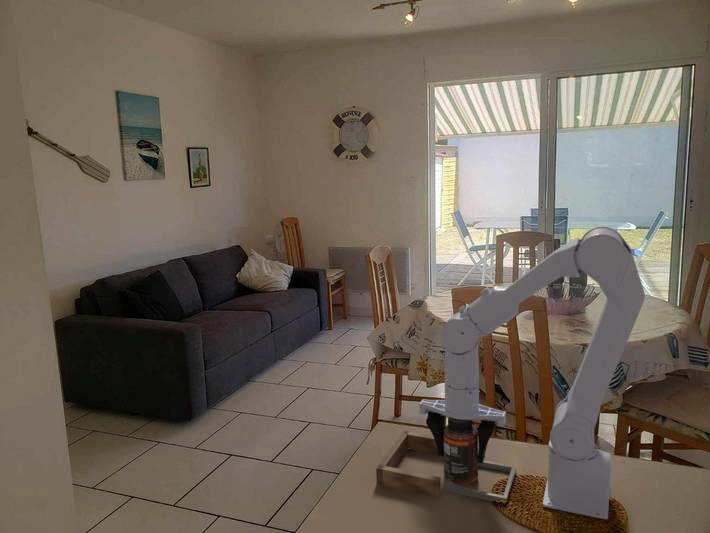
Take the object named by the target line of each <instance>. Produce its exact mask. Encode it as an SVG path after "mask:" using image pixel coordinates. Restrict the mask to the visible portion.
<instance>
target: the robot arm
mask: <svg viewBox="0 0 710 533" xmlns="http://www.w3.org/2000/svg"><path fill="white" fill-rule="evenodd" d="M579 240H580V242H579ZM582 272H584V273H585V274H586V275H587V276H588V277H589V278H591V279H592V280H593V281H594V282H595V283H597V284H598V287H599V288H600V289H601V291H602V292H603V294H604V295H605V297H606V300H605V302H604V305H603V308H602V311H601V313H600V316H599V318H598V320H597V323H596V325H595V329H594V331H593V334H592V335H591V338H590V341H589V344H588V346H587V349H586V351H585V354H584V356H583V358H582V360H581V364H580V367H579V369H578V372H577V374H576V375H575V376H576V377H575V378H574V382H573V384H572V386H571V387H570V388H569V392H567V395H566V397H565V398H563V399H562V400H561V401H560V402H558V404H557V405H556V407H555V410H554V419H553V423H552V429H551V430H550V432H549V433H550V434H549V441H548V463H547V464H548V466H547V467H548V469H547V479H546V483H545V489H544V495H543V499H542V506H543V507H545V508H549V509H553V510H557V511H558V510H559V511H563V512H567V513H573V514H578V515H582V516H586V517H592V518H597V519H601V520H608V519H609V505H610V504H609V502H610V500H612V487H610V486H611V485H610V483H611V462H612V460H611V458H612V457H611V456H612V453H610V452H606V451H603V450H601V449H599V448H598V445H597V444H596V443H595V427H596V425H597V421H598V418H599V415H600V410H601V406H602V403H603V401H604V399H605V396H606V394H607V390H608V389H609V386H610V384H611V381H612V379H613V376H614V374H615V371H616V369H617V367H618V366H619V365H618V364H619V362H620V360H621V357H622V355H623V353H624V351H625V348H626V346H627V343H628V340H629V339H630V335H631V333H632V331H633V329H634V326H635V324H636V321H637V320H638V316H639V314H640V312H641V309H642V307H643V304H644V302H645V298H646V294H645V290H644V287H643V284H642V280H641V276H640V274H639V271H638V268H637V264H636V261H635V258H634V254H633V251H632V249H631V247H630V244H628V242H627V241H626V240H625V238H624V237H623V236H622V235H621V233H619V231H617V230H616V229H614V228H611V227H609V226H596V227H593V228H590V229H589V230H588V231H586V232H585V233H584V235H583V236H582V238H581V239H580V236H578V237H576V238H574V239H572V240H570V241H568V242H566V243H565V244H564V245H562V246H560V247H558V248H557V249H555V250H554V251H553V252H551V253H550V254H549V255H547V256H546V257H545V258H544V259H542V260H541V261H540V262H539V263H537V264H536V265H535V266H533V267H532V268H531V269H529V270H528V271H527V272H525V273H524V274H523V275H521V276H520V277H519V278H517V279H516V280H515V281H514V282H512V283H511V284H510V285H508V286H503V285H502V286H500V285H494V286H493V287H491V288H490V287H488V286H487V287H486V288H484V289H482V290H481V291H480V296H479V297H477V299H475V300H474V301H472V302H471V303H470V304H468V305H462V306H461V307H459V308H458V312H456V313H455V314H453V315H452V316H451V317H450V318H449V319H448V320H447V321H446V322H445V323H444V325H443V326H442V328H441V330H440V342H441V343H442V345H443V346H444V365H443V366H444V399H421V401H420V402H419V403H418V404H419V406H418V407H419V414H420V415H426V414H427V418H426V419H425V423H426V426H427V428H428V429H429V430H430V433H431V434H432V436H433V437H434V439H435V442H436V445H437V448H438V452H439V454H438V455H439V456H441V457H444V446H443V431H444V428H445V427H446V426H447V418H449V417H451V418H454V419H460V420H472V421H475V422H480V423H479V425H478V427H477V428H476V430H477V433H478V463H483V461H485V457H486V456H485V455H486V451H487V446H488V444H489V440H490V438H491V437H492V435H493V433H494V431H495V429H496V426H498V427H500V428H505V425H506V422H507V420H506V419H507V417H506V416H507V411H505V410H500V409H496V408H492V407H489V406H486V405H482V404H480V400H479V399H480V397H479V396H480V359H479V342H478V341H479V340H480V338H483V337H487V336H489V335H490V334H491V333H493V332H494V331H496V330H497V329H499V328H501V327H502V326H503V325H505V324H506V323H509V321H511V320H512V319H513V318H515V317H517V316H518V314H519V308H520V304H521V303H522V302H524V301H526V300H527V299H529V298H530V297H532V296H533V295H535V294H536V293H538V292H539V291H541V290H542V289H544V288H546V287H547V286H549V285H551V284H552V283H553V282H555V281H557V280H558V279H560V278H563V277H564V278H580V277H581V275H582Z"/></svg>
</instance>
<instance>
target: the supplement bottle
mask: <svg viewBox="0 0 710 533" xmlns="http://www.w3.org/2000/svg"><path fill="white" fill-rule="evenodd" d="M447 423H448V424H446V427H445V428H444V431H443V446H444V455H443V472H444V474H443V475H444V477H445V479H446V480H448V482H451V483H453V484H457V485H468V484H472V483H474V482H475V481H477V479H478V476H479V466H478V450H479V442H478V432H477V428H476V426H474V425H473V420H460V419H454V418H451V417H448V421H447Z"/></svg>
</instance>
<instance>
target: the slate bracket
mask: <svg viewBox="0 0 710 533" xmlns="http://www.w3.org/2000/svg"><path fill="white" fill-rule="evenodd" d="M478 467H480V468H486V469H490V470H491V469H492V470H497V471H502V472H505V473H506V472H507V473H509V476H508V480H507V483H506V486H505V489H504V492H503V495H501V494H497V493H492V492H486V491H481V490H477V489H474V488H473V489H472V488H468V487H462V486H458V485H453V484H448V486H447V493H452V494H457V495H461V496H465V497H471V498H476V499H480V500H484V501H489V502H493V500H497V499H498V500H499V499H500V500H507V497H508V494H509V491H510V492H511V490H510V488H511V489H512V487H511V485H512V486H513V483H514V480H513V479H515V476H516V472H517V466H516V465H511V464H510V465H509V464H506V463H505V464H504V463H499V462H494V461H489V460H484V461H483V463H478ZM512 482H513V483H512ZM509 495H510V494H509ZM508 498H509V497H508Z"/></svg>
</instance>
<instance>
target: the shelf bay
mask: <svg viewBox="0 0 710 533" xmlns="http://www.w3.org/2000/svg"><path fill="white" fill-rule="evenodd" d="M408 448H409V449H408ZM412 449H413V450H412ZM414 449H415V450H414ZM406 450H407V451H408V450H412V451H418V450H420V451H419V452H423V451H425V452H424V453H428V452H430V453H429V454H434V453H436V454H435V455H439V452H438V448H437V445H436V442H435V439H434V437H433V434H432V435H431V434H426V433H421V432H414V431H409V430H408V431H407V430H403V431H402V432H401V434H400V435H399V437H397V439H396V440H395V442H394V443H393V445H392V446H391V447H390V449H388V452H387V453H386V454H385V456H383V458H382V459H381V460H380V462H379V463H378V465H377V466H376V468H375V471H376V472H375V473H376V485H380V486H383V487H389V488H393V489H397V490H402V491H407V492H412V493H416V494H421V495H425V496H428V497H429V496H430V497H435V498H440V496H441V494H442V491H441V490H442V488H441V487H442V484H441V483H442V482H441V478H442V477H441V476H436V475H432V474H426V473H421V472H416V471H411V470H407V469H402V468H396V467H397V466H398V464H399V462H400V461H401V460H402V458H403V457H404V455H405V453H407V451H406Z"/></svg>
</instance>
